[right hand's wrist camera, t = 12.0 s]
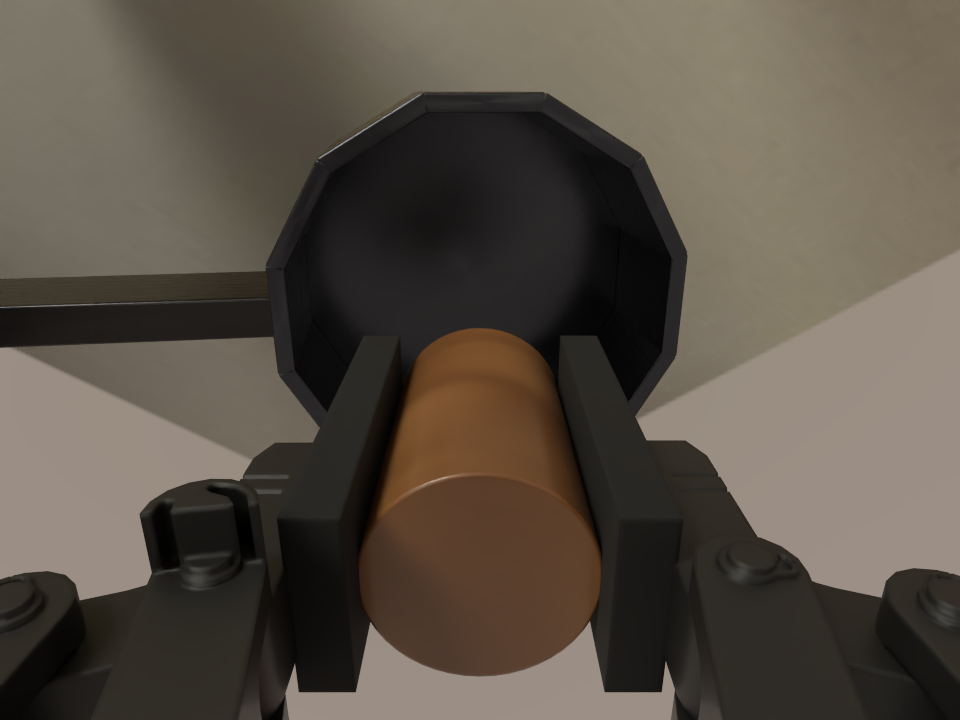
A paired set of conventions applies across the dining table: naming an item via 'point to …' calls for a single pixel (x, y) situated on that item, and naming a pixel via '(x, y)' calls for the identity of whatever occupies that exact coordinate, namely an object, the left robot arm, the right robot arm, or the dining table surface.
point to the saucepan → (421, 253)
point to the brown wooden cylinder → (479, 514)
